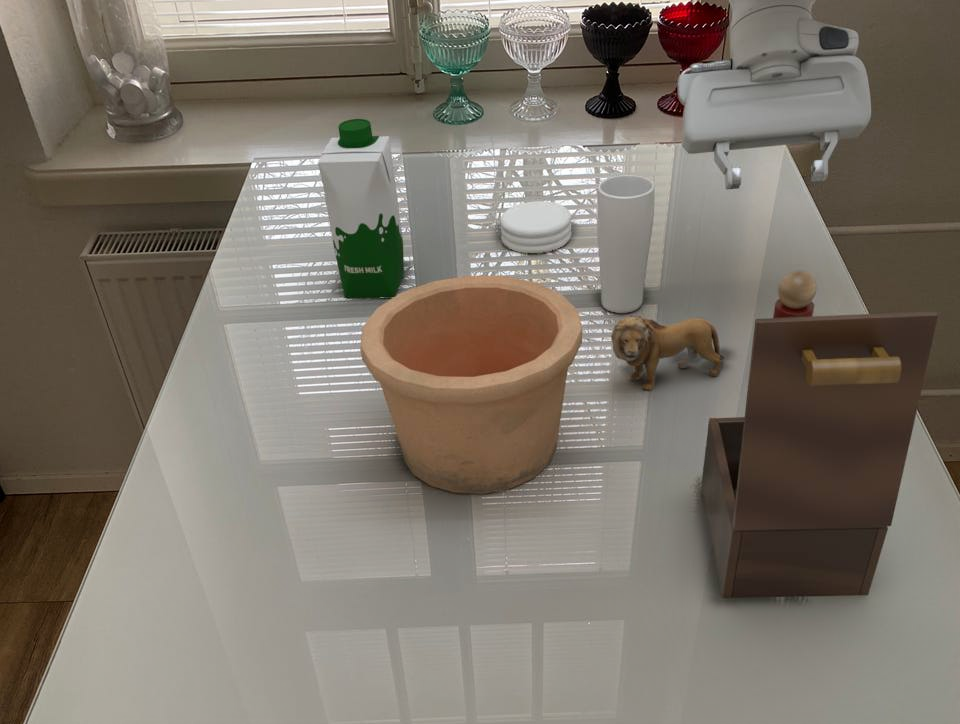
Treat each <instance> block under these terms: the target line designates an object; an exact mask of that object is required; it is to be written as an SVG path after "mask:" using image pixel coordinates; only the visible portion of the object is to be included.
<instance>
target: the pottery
mask: <svg viewBox="0 0 960 724" xmlns="http://www.w3.org/2000/svg"><path fill="white" fill-rule="evenodd" d="M360 338H361V339H360V346H359V347H360V348H359V350H360V355H361V360H362V361H363V363H364V365H365V367H366V369H368V371H369V373H370V375H371V377H372V378H373V379H374V380H375V381H376V382H378V383H379V384H380V386H381V390H382V393H383V396H384V399H385V402H386V405H387V409H388V411H389V415H390V418H391V420H392V425H393V427H394V430H395V434H396V437H397V439H398V440H397V441H398V443H399V445H400V449H401V452H402V455H403V460H404V462H405V464H406V465H407V467H408V469H409V470H410V472H411V473H412V475H413V476H415V477H417V478H418V479H420V480H421V481H423V482H424V483H426V484H427V485H429V486H430V487H433V488H437V489H440V490H444V491H447V492H450V493H451V492H452V493H455V494H472V495H473V494H474V495H475V494H476V495H486V494H489V493H495V492H501V491H505V490H511V489H512V488H515V487H517V486H519V485H521V484H523V483H526V482H529V481H531V480H533V479H535V477H536V476H538V475H539V474H540V473H541V472H542V471H543V470H544V469H546V468H547V467H548V466H549V465H550V464H551V462H552V460H553V457H554V455H555V453H556V451H557V448H558V439H559V431H560V425H561V419H562V418H561V417H562V412H563V404H564V397H565V391H566V385H567V377H568V371H569V367H571V366H572V364H573V362H574V360H575V358H576V356H577V354H578V352H579V350H580V348H581V346H582V343H583V328H582V322H581V318H580V314H579V309H577V308H576V307H575V306H574V305H573V303H571V302H570V301H569V300H568V299H567V298H566V297H565V296H564V295H563V294H562V293H561V292H558V291H556V290H554V289H552V288H550V287H547V286H545V285H543V284H540V283H538V282H536V281H532V280H526V279H520V278H516V277H510V276H505V275H465V276H458V277H452V278H447V279H440V280H435V281H430V282H428V283H427V282H426V283H425V284H422V285H418V286H416V287H413V288H411V289H408V290H405V291H402V292H400V293H399V294H396V296H395V297H394V298H390V299H389V300H388V301H386V302H384V303H383V304H382V305H380V306H378V307H377V308H376V309H375V310H374V311H373V313H372V314H371V315H370V317H369V318H368V319H367V320H366V322H365V324H364V325H363V326H362V328H361V337H360Z"/></svg>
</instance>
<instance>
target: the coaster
mask: <svg viewBox="0 0 960 724" xmlns="http://www.w3.org/2000/svg"><path fill="white" fill-rule="evenodd" d="M571 221H572V214H571V212H570V210H569V209H568V208H567V207H565V206H564V205H562V204H560V203H556V202H553V201H545V200H544V201H543V200H536V201H535V200H534V201H527V202H522V203H518V204H515V205H513V206H511V207H508V209H506V210H505V211H504V212H503V213H502V214H501V216H500V226H501V227H500V233H501V235H500V236H501V237H500V238H501V239H500V240H501V242H502V243H503V245H504V246H505V247H506V248H508V249H509V250H511V249H512V250H511V251H513V250H514V251H513V252H516V251H518V252H517V253H520V252H522V253H521V254H528V253H537V254H544V253H543V252H545V253H550V252H553V251H556V250H558V248H559V249H560V247H561V248H562V247H564V246H565V245H566V244H568V242H569V241H570V240H571V237H572V222H571ZM555 249H556V250H555ZM552 250H553V251H552ZM549 251H550V252H549Z"/></svg>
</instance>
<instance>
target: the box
mask: <svg viewBox="0 0 960 724" xmlns="http://www.w3.org/2000/svg"><path fill="white" fill-rule="evenodd" d="M744 418H745V416H733V417H709V419H708V425H707V434H706V441H705V442H706V443H705V450H704V459H703V467H702V469H703V470H702V476H701V484H700V485H701V486H700V496H701V501H702V507H703V514H704V515H706V516H707V520H708V526H709V532H710V537H711V542H712V547H713V553H714V560H715V564H716V571H717V576H718V581H719V587H720V592H721V597H722V599H743V598H744V599H746V598H747V599H748V598H749V599H750V598H752V599H753V598H795V597H797V598H799V597H803V598H804V597H805V598H806V597H850V596H852V597H853V596H855V597H856V596H869V595H870V592H871V591H870V590H871V588H872V584H873V580H874V577H875V574H876V570H877V567H878V564H879V560H880V558H881V553H882V550H883V547H884V543H885V540H886V538H887V537H886V536H887V533H888V530H889V526H882V527H842V528H802V529H762V530H734V528H733V518H734V509H735V500H736V491H737V482H738V472H739V463H740V454H741V445H742V436H743V427H744Z"/></svg>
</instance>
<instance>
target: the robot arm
mask: <svg viewBox="0 0 960 724" xmlns="http://www.w3.org/2000/svg"><path fill="white" fill-rule="evenodd" d="M816 1H817V0H728V2H729V5H730V8H731V16H732V17H731V23H730V26H729V56H730V57H729V59H723V60H715V61H711V62H707V63H706V62H705V63H703V62H696V63H692V64H690V65H689V67H688V68H686V69H684V70H683V71H682V72H680V75H679V76H678V78H677V83H676V85H677V86H676V87H677V98H678V101H679V102H680V104H681V105H682V106H684V107H683V111H682V112H683V113H682V122H681V123H682V124H681V147H682V148H683V149H684V151H686V153H688V155H692V154H693V155H695V154H707V153H713V160H714V161H713V162H714V163H715V165H716V166H717V168H718V169H719V170H720V172H721V173H722V175H723V176H724V184H725V190H727V191H729V190H738V189H740V187H741V185H742V177H741V174H742V170H741V167H734V166H733V164H732V163H731V161H730V159H729V158H728V156H729V153H730V151H736V150H746V149H757V148H767V147H779V146H787V145H788V146H789V145H790V146H791V145H799V144H810V143H819V150H820V152H821V151H824V153H823V155H822V156H821V159H815V160H814V161H813V162H812V163H811V166H810V175H811V176H810V181H811V182H824V181H826V180H827V178H828V176H829V160H830V158H831V156H832V154H833V152H834V150H835V148H836V146H837V144H838V142H839V141H841V140H842V141H843V140H852V139H856V138H858V137H859V136H860V135H861V134H862V133H863V132H864V130H865V129H866V128H867V126H868V125H869V122H870V121H871V118H872V102H871V101H872V100H871V99H872V98H871V91H870V83H869V78H868V73H867V69H866V67H865V64H864V62H863V61H862V60H861V59H860V58H859V57H857V56H856V55H857V51H858V47H859V45H860V43H859V42H860V40H859V34H858V32H857V31H856V30H854V29H851V28H847V27H841V26H837V25H834V24H833V25H832V24H829V23H824V22H821V21H818V20H815V19H813V14H812V8H813V5H814V4H815V3H816Z"/></svg>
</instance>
